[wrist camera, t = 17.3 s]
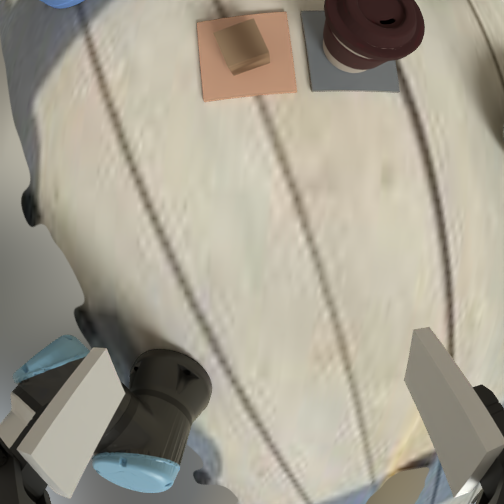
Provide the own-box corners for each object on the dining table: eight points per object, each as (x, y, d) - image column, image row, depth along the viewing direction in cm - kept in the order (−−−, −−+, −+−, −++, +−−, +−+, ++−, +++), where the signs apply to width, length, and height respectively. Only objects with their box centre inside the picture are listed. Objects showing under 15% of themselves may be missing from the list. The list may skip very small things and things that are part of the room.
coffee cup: (318, 10, 32) (335, -47, 18) (388, 31, 32) (433, -12, 18) (305, 72, 35) (320, 33, 21) (379, 92, 35) (427, 69, 21)
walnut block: (233, 76, 36) (227, 66, 31) (220, 44, 35) (213, 32, 30) (270, 62, 35) (269, 52, 30) (256, 32, 34) (253, 18, 29)
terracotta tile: (205, 102, 38) (203, 101, 37) (198, 24, 34) (196, 22, 34) (296, 92, 37) (296, 91, 36) (286, 13, 33) (286, 11, 32)
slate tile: (311, 91, 37) (312, 90, 36) (300, 13, 33) (301, 11, 32) (397, 92, 35) (399, 92, 35) (384, 16, 32) (386, 14, 31)
